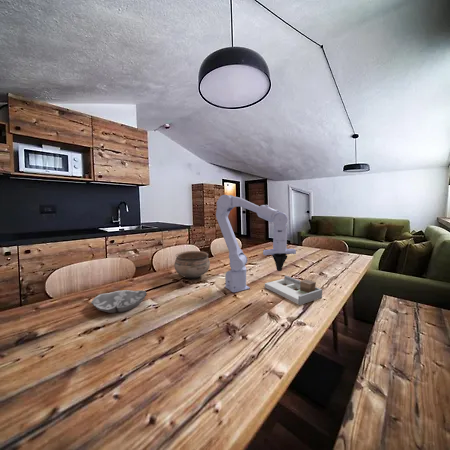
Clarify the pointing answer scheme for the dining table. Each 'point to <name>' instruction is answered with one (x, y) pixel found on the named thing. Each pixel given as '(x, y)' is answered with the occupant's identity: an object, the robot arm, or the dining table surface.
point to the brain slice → (118, 300)
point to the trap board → (291, 294)
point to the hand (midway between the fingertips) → (279, 270)
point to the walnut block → (307, 285)
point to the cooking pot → (192, 264)
